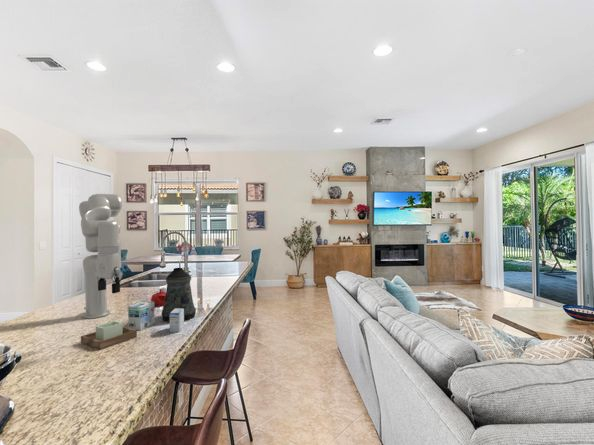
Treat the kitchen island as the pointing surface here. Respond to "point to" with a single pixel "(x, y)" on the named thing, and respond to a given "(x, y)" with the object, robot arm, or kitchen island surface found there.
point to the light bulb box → (141, 315)
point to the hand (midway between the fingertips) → (109, 291)
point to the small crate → (108, 330)
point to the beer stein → (178, 295)
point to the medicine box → (176, 320)
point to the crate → (92, 342)
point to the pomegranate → (158, 298)
